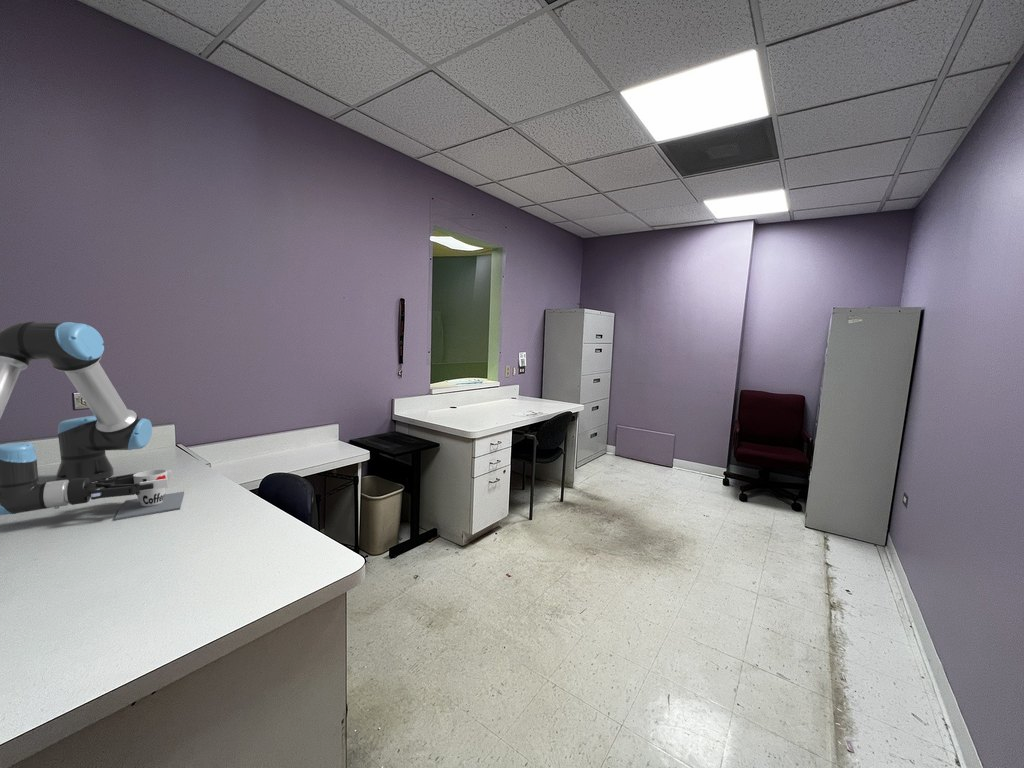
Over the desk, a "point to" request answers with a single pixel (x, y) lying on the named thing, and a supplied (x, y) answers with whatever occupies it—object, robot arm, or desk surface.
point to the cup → (150, 495)
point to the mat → (136, 509)
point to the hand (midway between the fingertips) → (169, 478)
